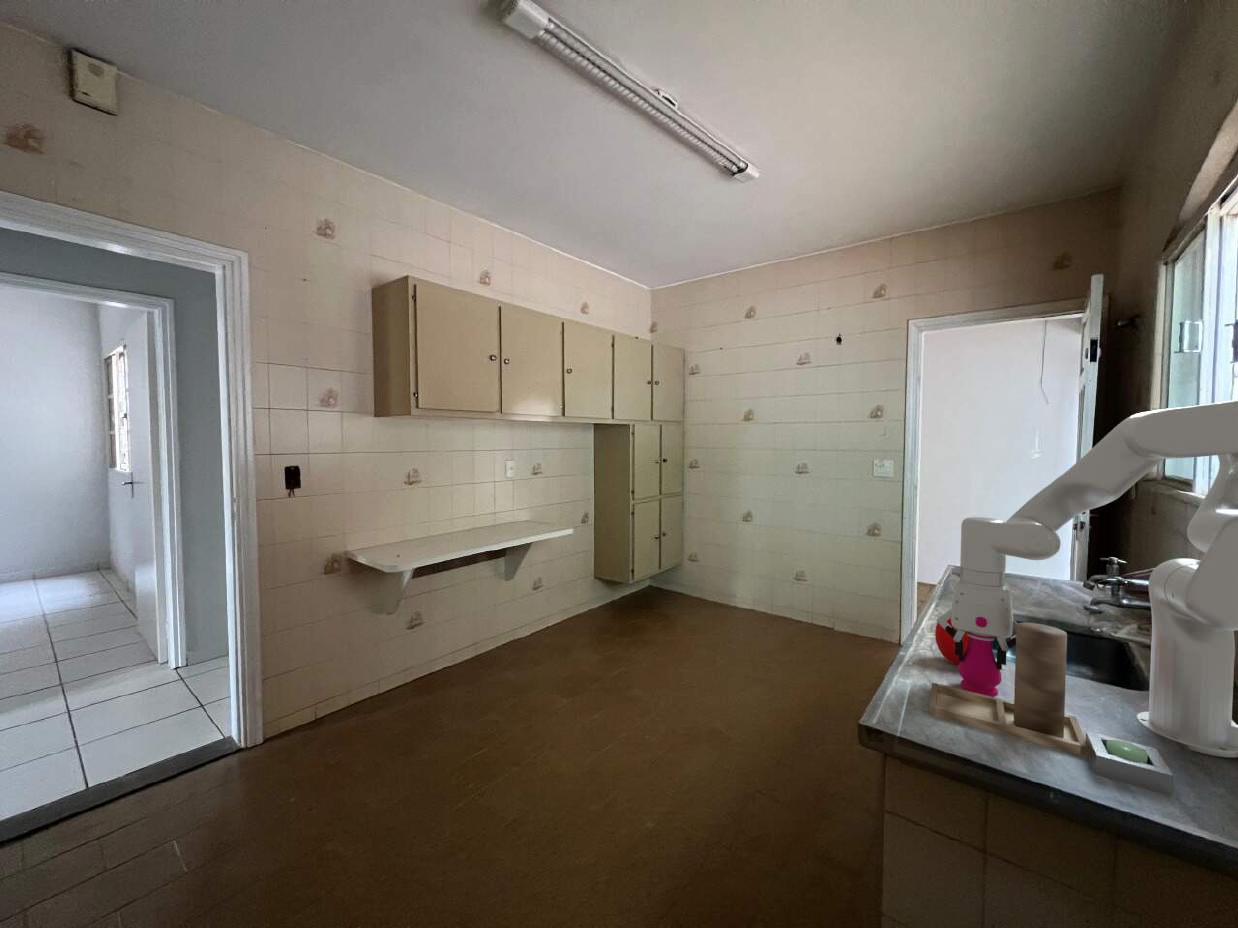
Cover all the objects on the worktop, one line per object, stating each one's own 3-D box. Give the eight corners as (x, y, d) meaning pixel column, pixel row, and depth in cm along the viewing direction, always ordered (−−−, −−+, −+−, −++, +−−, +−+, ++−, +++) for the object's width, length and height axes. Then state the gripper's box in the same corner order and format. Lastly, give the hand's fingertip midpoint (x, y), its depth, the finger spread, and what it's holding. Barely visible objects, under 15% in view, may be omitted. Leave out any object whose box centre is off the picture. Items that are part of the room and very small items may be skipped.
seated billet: (1060, 726, 88) (1063, 627, 87) (1066, 744, 82) (1070, 639, 82) (1012, 714, 92) (1014, 619, 91) (1015, 731, 86) (1018, 630, 86)
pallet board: (1075, 730, 88) (1075, 716, 88) (1088, 762, 79) (1089, 747, 79) (931, 694, 101) (932, 682, 101) (928, 718, 92) (928, 705, 92)
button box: (1154, 773, 77) (1155, 748, 77) (1172, 802, 70) (1173, 775, 70) (1085, 754, 81) (1085, 730, 81) (1095, 780, 75) (1096, 755, 75)
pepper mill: (1008, 704, 97) (1011, 605, 97) (968, 700, 99) (970, 603, 98) (989, 687, 104) (991, 595, 104) (951, 684, 106) (953, 592, 105)
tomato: (933, 651, 123) (934, 601, 123) (986, 661, 118) (988, 608, 117) (935, 668, 113) (937, 614, 113) (994, 679, 108) (995, 622, 108)
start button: (1141, 771, 76) (1142, 745, 76) (1150, 786, 73) (1151, 760, 73) (1102, 760, 79) (1103, 736, 79) (1109, 775, 75) (1110, 749, 75)
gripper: (931, 574, 103) (929, 658, 103) (1038, 588, 93) (1035, 681, 93) (933, 567, 109) (931, 647, 110) (1034, 580, 99) (1031, 667, 100)
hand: (979, 662), depth 101 cm, fingers closed on pepper mill, 5 cm apart
